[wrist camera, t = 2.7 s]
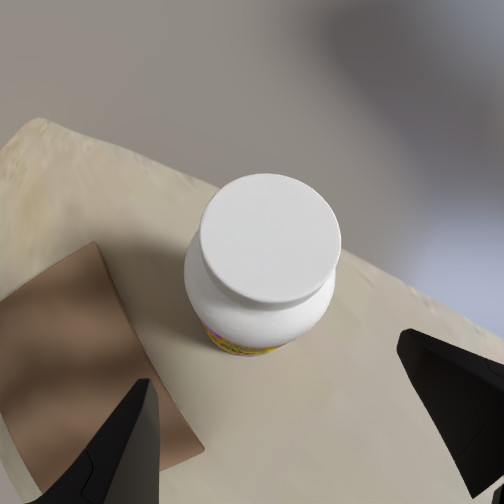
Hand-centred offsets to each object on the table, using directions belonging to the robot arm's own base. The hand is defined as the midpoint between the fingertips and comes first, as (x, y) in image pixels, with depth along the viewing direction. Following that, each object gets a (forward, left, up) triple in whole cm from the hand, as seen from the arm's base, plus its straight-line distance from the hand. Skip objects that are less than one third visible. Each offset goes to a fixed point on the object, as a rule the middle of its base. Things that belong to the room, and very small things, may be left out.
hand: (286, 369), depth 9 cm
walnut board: (+6, +14, -11) cm, 19 cm away
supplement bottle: (+4, -2, -11) cm, 12 cm away
